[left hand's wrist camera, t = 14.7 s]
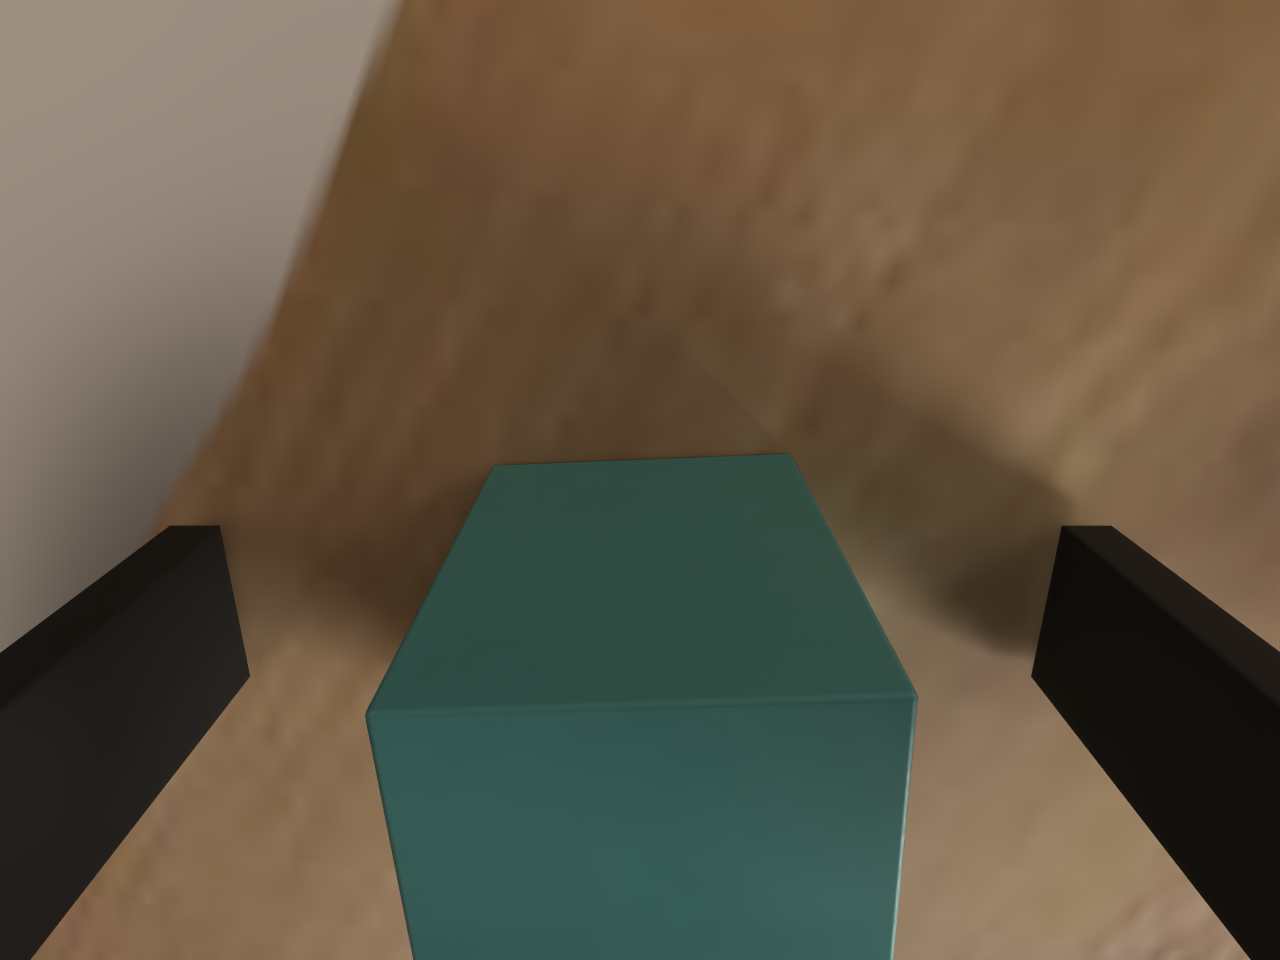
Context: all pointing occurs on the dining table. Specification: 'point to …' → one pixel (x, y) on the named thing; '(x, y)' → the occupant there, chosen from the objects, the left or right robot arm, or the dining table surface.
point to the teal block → (646, 725)
